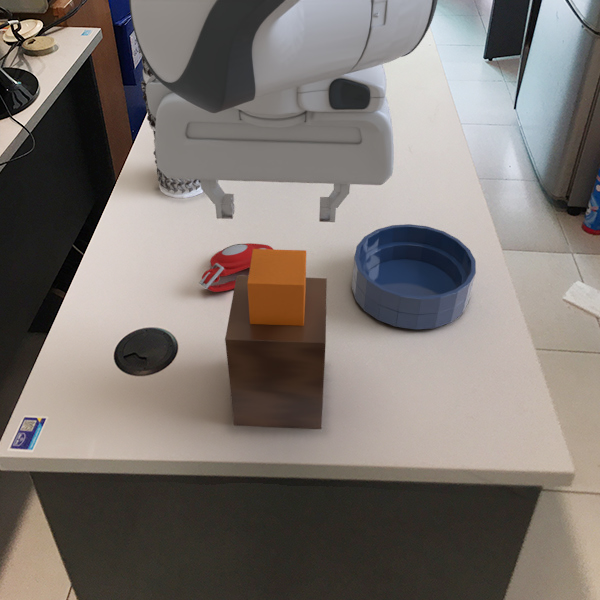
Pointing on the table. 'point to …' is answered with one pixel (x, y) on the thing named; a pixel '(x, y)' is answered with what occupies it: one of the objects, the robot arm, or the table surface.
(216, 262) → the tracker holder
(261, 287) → the orange cube
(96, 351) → the table surface
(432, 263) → the bowl
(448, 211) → the table surface
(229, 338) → the block
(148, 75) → the decorative candle
